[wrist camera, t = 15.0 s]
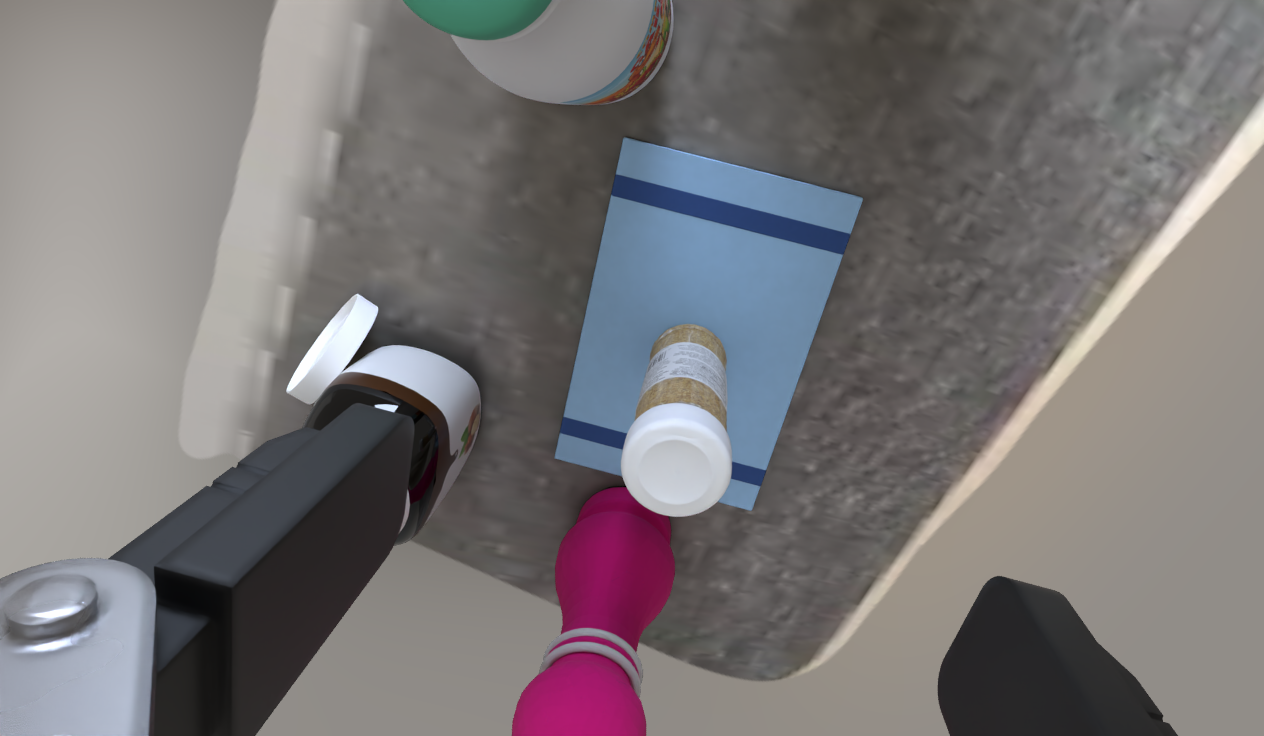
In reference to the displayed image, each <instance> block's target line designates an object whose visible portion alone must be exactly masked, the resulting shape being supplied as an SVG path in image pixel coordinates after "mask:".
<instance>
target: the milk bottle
mask: <svg viewBox="0 0 1264 736" xmlns="http://www.w3.org/2000/svg"><path fill="white" fill-rule="evenodd" d="M403 1H404V2H405V4H406V5H407V6H408V7H409V8H410V9H411V10H412V11H413V12H414V13H415V14H417V15H418V16H419V17H420V18H422V19H423V20H424V21H426V22H427V23H429V24H430V25H432V26H434V27H436V28H438V29H440V30H442V31H444V32H447V33H449V34H450V35H451V37H452V38H453V40H454V42H455V43H456V45H457V46H458V48H459V49H460V50H461V52H462V53H463V54H464V56H465V57H466V58H467V59H468V60H469V61H470V62H471V64H472V65H473V66H474V67H475V68H476V69H477V70H478V71H479V72H481V73H482V74H483V75H484V76H485V77H487V78H488V79H489V80H491V81H492V82H494V83H495V84H497V85H499V86H500V87H502V88H504V89H505V90H507V91H509V92H511V93H513V94H516V95H518V96H521V97H524V98H528V99H532V100H536V101H541V102H546V103H553V104H568V105H604V104H610V103H614V102H618V101H621V100H624V99H626V98H628V97H630V96H632V95H634V94H635V93H637V92H638V91H640V90H641V89H642V88H643V87H645V86H646V85H647V84H648V83H649V82H650V81H651V80H652V78H653V77H654V76H655V75H656V73H657V72H658V70H659V69H660V67H661V66H662V64H663V62H664V60H665V58H666V55H667V53H668V50H669V47H670V43H671V39H672V33H673V21H674V19H673V6H672V0H403Z"/></svg>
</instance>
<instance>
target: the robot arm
mask: <svg viewBox="0 0 1264 736" xmlns="http://www.w3.org/2000/svg"><path fill="white" fill-rule="evenodd" d="M413 440H414V422H413V419H412V418H411V417H410V416H406V415H402V414H398V413H395V412H391V411H387V410H383V409H380V408H376V407H372V406H368V405H365V404H361V403H355V404H353V405H351V406H350V407H349V408H348V409H346V410H345V411H344V412H343V413H341V414H340V415H339V416H338V417H336V418H335V419H334V420H333V421H332V422H330V423H329V424H328V425H327V426H325V427H324V428H323V429H322V430H320V431H319V430H315V429H311V428H308V427H305V428H303V429H300V430H297V431H294V432H291V433H289V434H286V435H283V436H280V437H277V438H275V439H272V440H269V441H267V442H265V443H264V444H263V445H261V446H260V447H259V448H257V449H256V450H255V451H253V452H252V453H250V454H249V455H248V456H246V457H245V458H244V459H242V460H241V461H240V462H238V465H237V467H236V468H234V467H232V468H230V469H229V470H227V471H226V472H225V473H224V474H222V475H221V476H219V477H218V478H217V479H215V480H214V481H213V484H212V486H211V487H209V486H206V487H204V488H203V489H202V490H200V491H199V492H198V493H196V494H195V495H194V496H192V497H191V498H190V499H188V500H187V501H186V502H184V503H183V504H182V505H180V506H179V507H177V508H176V509H175V510H173V511H172V512H171V513H169V514H168V515H167V516H165V517H164V518H163V519H161V520H160V521H159V522H157V523H156V524H155V525H153V526H152V527H150V528H149V529H148V530H146V531H145V532H144V533H142V534H141V535H140V536H138V537H137V538H136V539H134V540H133V541H131V542H130V543H129V544H127V545H126V546H125V547H123V548H122V549H121V550H119V551H118V552H117V553H115V554H114V555H113V556H111V557H110V558H109V559H101V558H80V559H67V560H60V561H55V562H49V563H45V564H41V565H37V566H33V567H30V568H27V569H24V570H21V571H18V572H15V573H12V574H10V575H8V576H5V577H3V578H1V579H0V736H255V735H256V734H257V733H258V731H259V730H260V728H261V727H262V726H263V724H264V723H265V721H266V720H267V719H268V717H269V716H270V715H271V714H272V712H273V711H274V709H275V708H276V707H277V705H278V704H279V703H280V701H281V700H282V699H283V697H284V696H285V695H286V693H287V692H288V690H289V689H290V688H291V686H292V685H293V684H294V682H295V681H296V680H297V678H298V677H299V675H300V674H301V673H302V672H303V670H304V669H305V667H306V666H307V665H308V663H309V662H310V661H311V659H312V658H313V656H314V655H315V654H316V653H317V651H318V650H319V648H320V647H321V646H322V644H323V643H324V642H325V640H326V639H327V637H328V636H329V635H330V634H331V632H332V631H333V629H334V628H335V627H336V625H337V624H338V623H339V621H340V620H341V619H342V617H343V616H344V615H345V613H346V612H347V611H348V609H349V608H350V606H351V605H352V604H353V602H354V601H355V600H356V598H357V597H358V596H359V594H360V593H361V591H362V590H363V589H364V587H365V586H366V585H367V583H368V582H369V581H370V579H371V578H372V577H373V575H374V574H375V573H376V571H377V570H378V569H379V567H380V566H381V564H382V563H383V562H384V560H385V559H386V558H387V556H388V555H389V553H390V551H391V550H392V548H393V546H394V544H395V542H396V539H397V537H398V534H399V532H400V529H401V526H402V522H403V518H404V513H405V507H406V498H407V490H408V482H409V474H410V465H411V457H412V449H413ZM938 700H939V705H940V709H941V712H942V715H943V718H944V720H945V723H946V725H947V729H948V731H949V734H950V736H1178V735H1177V734H1176V732H1175V731H1174V730H1173V728H1172V727H1171V726H1170V724H1168V723H1165V722H1163V720H1162V718H1163V715H1162V713H1161V712H1160V711H1159V709H1158V708H1157V706H1156V705H1155V704H1154V702H1153V701H1152V700H1151V698H1150V697H1149V696H1148V694H1147V693H1146V691H1145V690H1144V689H1143V687H1142V686H1141V684H1140V683H1139V682H1138V680H1137V679H1136V678H1135V677H1134V676H1133V675H1132V674H1131V673H1130V672H1129V671H1128V670H1127V669H1125V667H1123V666H1122V665H1121V664H1120V663H1119V662H1118V661H1117V660H1116V659H1115V658H1114V657H1113V656H1112V655H1110V654H1109V653H1108V652H1107V651H1106V650H1105V649H1104V648H1103V647H1102V646H1101V645H1100V644H1098V643H1097V641H1096V640H1095V638H1094V637H1093V635H1092V634H1091V633H1090V631H1089V630H1088V629H1087V627H1086V626H1085V624H1084V623H1083V621H1082V620H1081V618H1080V617H1079V616H1078V614H1077V613H1076V611H1075V610H1074V609H1073V607H1072V606H1071V604H1070V603H1069V601H1068V600H1067V599H1066V598H1065V597H1064V596H1063V595H1062V594H1061V593H1059V592H1057V591H1055V590H1051V589H1047V588H1043V587H1040V586H1036V585H1032V584H1028V583H1024V582H1021V581H1017V580H1013V579H1010V578H1006V577H1002V576H997V577H993V578H991V579H990V580H989V581H988V582H987V583H986V584H985V585H984V586H983V588H982V590H981V591H980V593H979V595H978V597H977V599H976V601H975V602H974V604H973V606H972V608H971V610H970V612H969V613H968V615H967V617H966V619H965V621H964V623H963V625H962V626H961V628H960V630H959V632H958V634H957V636H956V638H955V639H954V641H953V643H952V645H951V647H950V648H949V650H948V652H947V654H946V656H945V658H944V660H943V662H942V665H941V668H940V672H939V678H938Z"/></svg>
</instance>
